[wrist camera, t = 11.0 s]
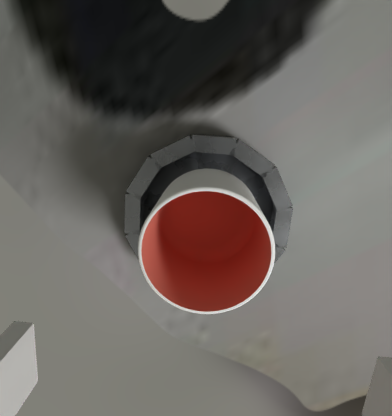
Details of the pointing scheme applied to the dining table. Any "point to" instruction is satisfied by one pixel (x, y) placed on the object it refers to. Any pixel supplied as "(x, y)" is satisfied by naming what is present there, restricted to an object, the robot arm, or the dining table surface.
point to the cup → (206, 243)
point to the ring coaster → (210, 159)
